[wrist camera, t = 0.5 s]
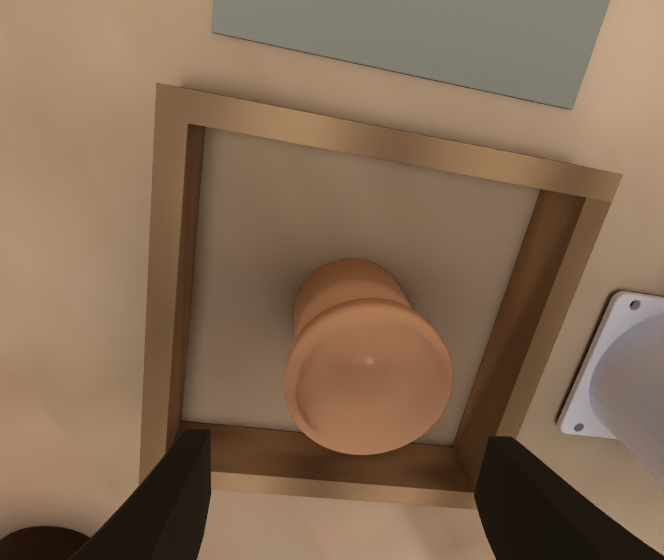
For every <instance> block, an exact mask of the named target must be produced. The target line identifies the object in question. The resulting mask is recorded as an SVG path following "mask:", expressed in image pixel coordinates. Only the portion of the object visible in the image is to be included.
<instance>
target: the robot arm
mask: <svg viewBox="0 0 664 560" xmlns="http://www.w3.org/2000/svg"><path fill="white" fill-rule="evenodd" d="M634 300H635V301H634ZM633 301H634V303H633V305H632V306H630V304H631V302H633ZM577 424H578V425H577ZM575 425H577V426H575ZM557 426H558V428H559V429H560V430H561V431H562V432H563V433H565V434H573V435H583V436H592V437H602V438H612V439H618V440H619V441H620V442H621V443H622V444H623V445H624V446H625V448H626V449H627V450H628V451H629V452H630V453H631V454H632V455H633V456H634V457H635V458H636V459H637V460H638V461H639V462H640V463H641V464H642V465H643V466H644V467H645V468H646V469H647V470H648V471H649V472H650V473H651V474H652V475H653V476H654V477H655V478H656V479H657V480H658V481H659V482H660V483H661V484H662V485H663V486H664V297H660V296H653V295H647V294H641V293H634V292H628V291H620V292H618V293H616V294H615V295H613V297H612V298H611V300H610V302H609V305H608V307H607V309H606V312H605V314H604V316H603V318H602V321H601V323H600V325H599V328H598V330H597V332H596V334H595V337H594V339H593V341H592V344H591V346H590V348H589V351H588V353H587V355H586V357H585V360H584V362H583V364H582V367H581V369H580V371H579V373H578V376H577V378H576V380H575V383H574V385H573V387H572V389H571V392H570V394H569V396H568V399H567V401H566V403H565V406H564V408H563V410H562V412H561V415H560V417H559V419H558V422H557ZM210 496H211V437H210V429H185V430H183V431H182V432H181V433H180V434H179V436H178V437H177V439H176V440H175V441H174V443H173V444H172V445H171V447H170V448H169V449H168V451H167V452H166V453H165V455H164V456H163V457H162V459H161V460H160V461H159V462H158V464H157V465H156V466H155V467H154V469H153V470H152V471H151V472H150V473H149V475H148V476H147V477H146V478H145V479H144V480H143V482H142V483H141V484H140V485H139V486H138V488H137V489H136V490H135V491H134V492H133V493H132V495H131V496H130V497H129V498H128V499H127V500H126V501H125V502H124V503H123V505H122V506H121V507H120V508H119V509H118V510H117V511H116V512H115V513H114V514H113V515H112V516H111V517H110V518H109V520H108V521H107V522H106V523H105V524H104V525H103V526H102V527H101V528H100V529H99V530H98V531H97V532H96V533H95V534H94V535H93V536H92V537H91V538H90V539H89V540H88V541H87V542H86V543H85V544H84V545H83V546H82V547H81V548H80V549H79V550H78V551H77V552H76V553H75V554H73V555H72V556H71V557H70V558H69V559H68V560H197V557H198V553H199V550H200V546H201V543H202V539H203V536H204V530H205V525H206V519H207V514H208V508H209V502H210ZM474 499H475V502H476V505H477V509H478V512H479V516H480V519H481V522H482V525H483V528H484V531H485V534H486V537H487V539H488V542H489V544H490V546H491V549H492V551H493V553H494V555H495V558H496V560H664V556H663V555H662V554H660V553H659V552H657V551H656V550H654V549H653V548H651V547H650V546H648V545H647V544H645V543H644V542H643V541H641V540H640V539H638V538H637V537H636V536H634V535H633V534H632V533H630V532H629V531H628V530H626V529H625V528H624V527H622V526H621V525H620V524H618V523H617V522H616V521H614V520H613V519H612V518H610V517H609V516H608V515H606V514H605V513H604V512H603V511H601V510H600V509H599V508H598V507H596V506H595V505H594V504H592V503H591V502H590V501H589V500H587V499H586V498H585V497H584V496H583V495H581V494H580V493H579V492H578V491H576V490H575V489H574V488H573V487H572V486H570V485H569V484H568V483H567V482H566V481H564V480H563V479H562V478H561V477H560V476H558V475H557V474H556V473H555V472H554V471H553V470H551V469H550V468H549V467H548V466H547V465H545V464H544V463H543V462H542V461H541V460H540V459H538V458H537V457H536V456H535V455H534V454H532V453H531V452H530V451H529V450H528V449H526V448H525V447H524V446H523V445H522V444H520V443H519V442H518V441H517V440H515V439H514V438H513V437H511V436H489V438H488V442H487V446H486V450H485V453H484V457H483V461H482V465H481V469H480V473H479V476H478V480H477V484H476V488H475V492H474Z"/></svg>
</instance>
